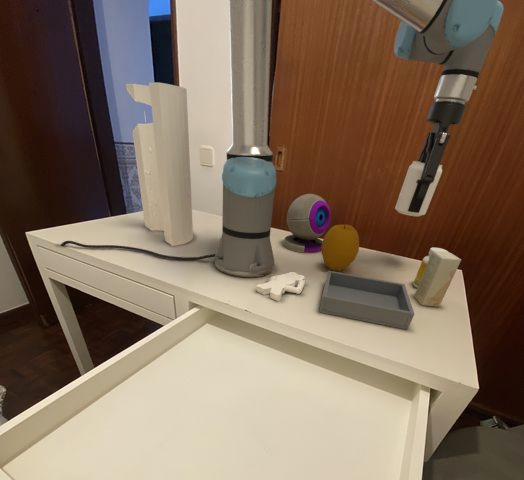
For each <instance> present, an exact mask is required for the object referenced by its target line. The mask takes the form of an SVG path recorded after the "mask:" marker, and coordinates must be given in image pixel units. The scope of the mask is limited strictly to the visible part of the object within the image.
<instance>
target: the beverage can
mask: <svg viewBox="0 0 524 480" xmlns="http://www.w3.org/2000/svg"><path fill="white" fill-rule="evenodd" d="M424 165H425V163H421V162H419V161H418V160H413V161H412V163H411V164H410V165H409V166H408V169H407V171H406V175H405V177H404V181H403V183H402V186H401V188H400V189H401V190H400V192H399V195H398V198H397V200H396V204H395V207H394V209H395V211H397V213H399V214H402V215H405V216H410V217H421V216H425V215H426V213H427V211H428V209H429V206H430V204H431V201H432V198H433V196H434V194H435V191H436V189H437V186H438V183H439V182H440V179H441V176H442V173H443V164H439V167H438V170H437V173H436V176H435V178H434V181H433V183H431V184H430V185H429V188H428V190H427V193H426V196H425V198H424V201H423V203H422V206H421V209H420V211H419V213H416V212H410V211H408V209H409V206H410V203H411V201H412V198H413V195H414V192H415V190H416V187H417V184H418V183H416V182H417V180H418V179H419V180H420V179H421V175H422V172H423V169H424Z"/></svg>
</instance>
